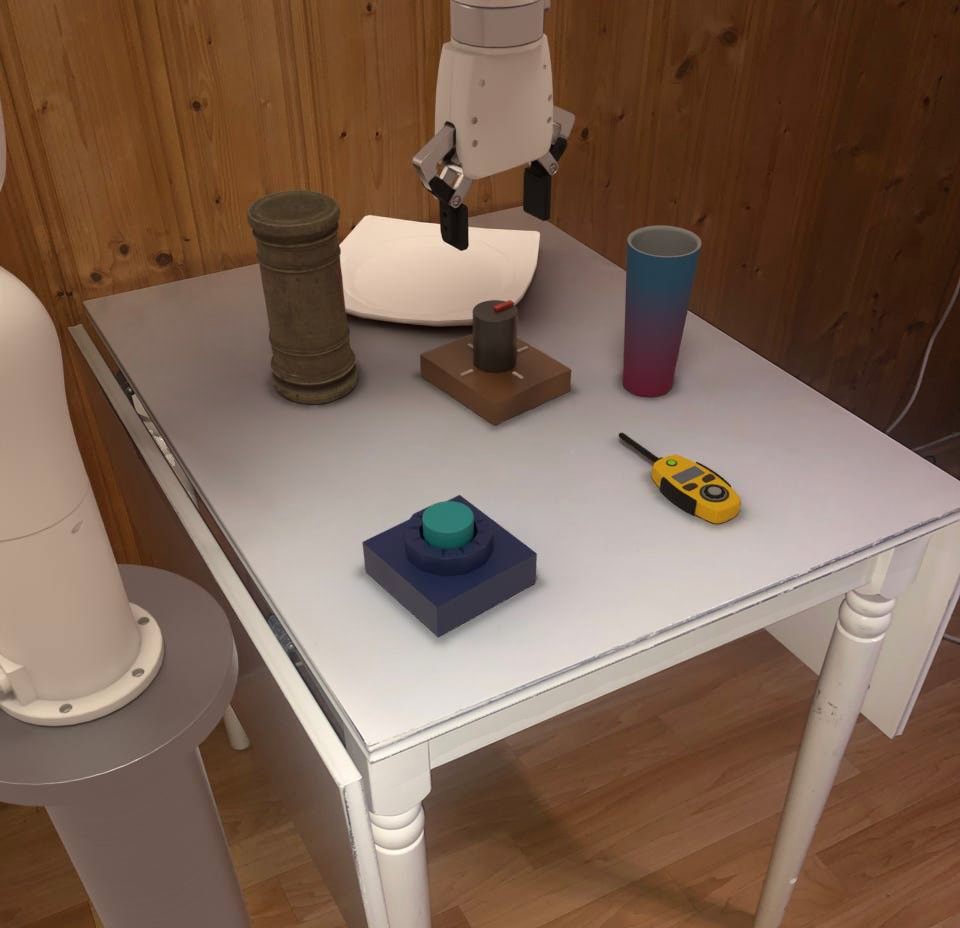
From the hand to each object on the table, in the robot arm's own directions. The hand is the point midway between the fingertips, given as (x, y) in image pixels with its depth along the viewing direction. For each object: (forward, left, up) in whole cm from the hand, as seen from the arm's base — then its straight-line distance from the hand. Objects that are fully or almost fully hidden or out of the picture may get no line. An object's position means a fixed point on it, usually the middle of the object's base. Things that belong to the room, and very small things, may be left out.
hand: (496, 230), depth 97 cm
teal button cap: (-22, -21, -11) cm, 33 cm away
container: (-14, +12, -16) cm, 25 cm away
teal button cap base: (-22, -21, -16) cm, 34 cm away
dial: (0, 0, -13) cm, 13 cm away
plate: (+8, +22, -16) cm, 28 cm away
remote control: (+2, -23, -16) cm, 28 cm away
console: (0, 0, -16) cm, 16 cm away
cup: (+12, -10, -16) cm, 22 cm away
